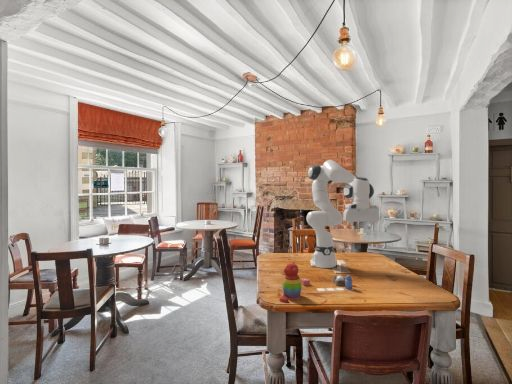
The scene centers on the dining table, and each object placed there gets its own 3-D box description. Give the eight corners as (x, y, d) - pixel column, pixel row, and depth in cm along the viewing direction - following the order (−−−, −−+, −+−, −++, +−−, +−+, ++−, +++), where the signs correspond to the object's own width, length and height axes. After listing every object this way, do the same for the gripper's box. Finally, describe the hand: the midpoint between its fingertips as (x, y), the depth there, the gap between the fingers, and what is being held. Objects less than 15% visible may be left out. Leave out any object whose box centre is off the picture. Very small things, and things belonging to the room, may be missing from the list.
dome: (334, 282, 168) (334, 274, 168) (342, 282, 168) (342, 274, 168) (337, 285, 164) (337, 277, 164) (345, 285, 164) (345, 276, 164)
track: (312, 289, 160) (312, 287, 160) (352, 288, 161) (352, 286, 161) (316, 295, 152) (316, 292, 152) (358, 293, 153) (358, 291, 153)
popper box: (331, 283, 169) (331, 276, 169) (343, 283, 170) (343, 276, 170) (336, 288, 162) (336, 280, 162) (348, 287, 163) (348, 280, 163)
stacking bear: (284, 294, 154) (284, 260, 153) (303, 296, 150) (303, 261, 150) (278, 301, 144) (278, 265, 143) (298, 304, 140) (298, 267, 140)
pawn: (346, 289, 155) (346, 276, 155) (344, 287, 159) (344, 274, 159) (353, 289, 155) (353, 276, 155) (351, 287, 159) (351, 274, 159)
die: (300, 286, 166) (300, 278, 166) (306, 285, 167) (306, 278, 167) (303, 288, 162) (303, 280, 162) (310, 287, 163) (310, 280, 163)
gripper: (376, 205, 174) (376, 228, 174) (342, 205, 173) (342, 228, 173) (381, 205, 168) (381, 229, 168) (346, 205, 166) (346, 230, 167)
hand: (361, 229), depth 170 cm, fingers open, 8 cm apart
